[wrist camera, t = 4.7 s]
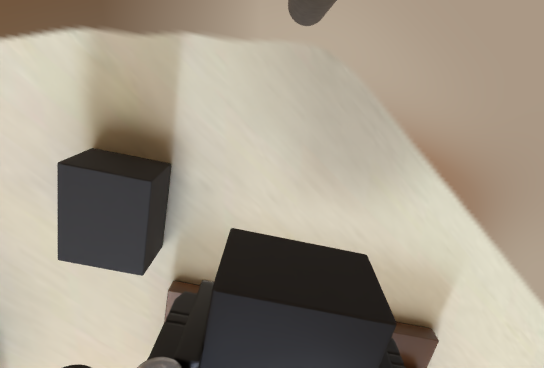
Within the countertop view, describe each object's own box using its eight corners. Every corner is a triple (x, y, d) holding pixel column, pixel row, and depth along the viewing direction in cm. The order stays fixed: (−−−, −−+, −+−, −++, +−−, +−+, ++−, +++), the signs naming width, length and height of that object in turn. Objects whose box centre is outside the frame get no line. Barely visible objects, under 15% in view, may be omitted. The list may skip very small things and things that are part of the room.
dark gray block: (91, 147, 21) (56, 162, 18) (171, 163, 21) (151, 180, 18) (89, 232, 23) (56, 260, 20) (162, 246, 23) (142, 276, 20)
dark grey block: (231, 226, 12) (211, 288, 9) (367, 254, 12) (398, 324, 9) (207, 354, 14) (184, 442, 11) (324, 375, 14) (337, 469, 11)
